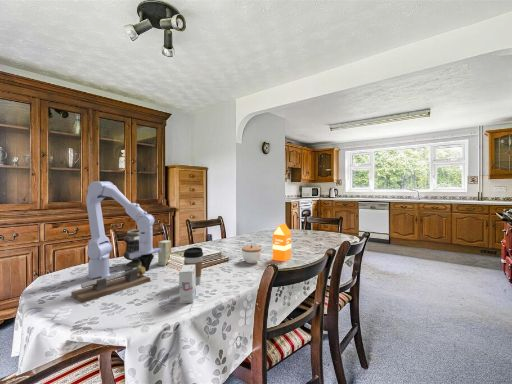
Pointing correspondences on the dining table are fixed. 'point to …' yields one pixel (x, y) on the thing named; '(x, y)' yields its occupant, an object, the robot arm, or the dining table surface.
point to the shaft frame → (109, 286)
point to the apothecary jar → (132, 247)
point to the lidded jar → (251, 253)
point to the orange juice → (282, 243)
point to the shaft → (114, 276)
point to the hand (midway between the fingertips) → (146, 270)
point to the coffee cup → (194, 260)
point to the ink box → (187, 284)
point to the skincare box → (164, 252)
